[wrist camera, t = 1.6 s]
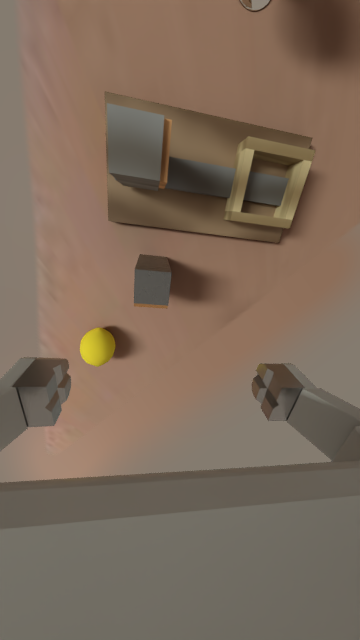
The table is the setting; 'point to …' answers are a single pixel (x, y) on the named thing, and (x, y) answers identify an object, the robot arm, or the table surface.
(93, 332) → the lemon
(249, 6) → the wineglass
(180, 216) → the rail
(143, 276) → the grey metal slab
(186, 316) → the table surface
